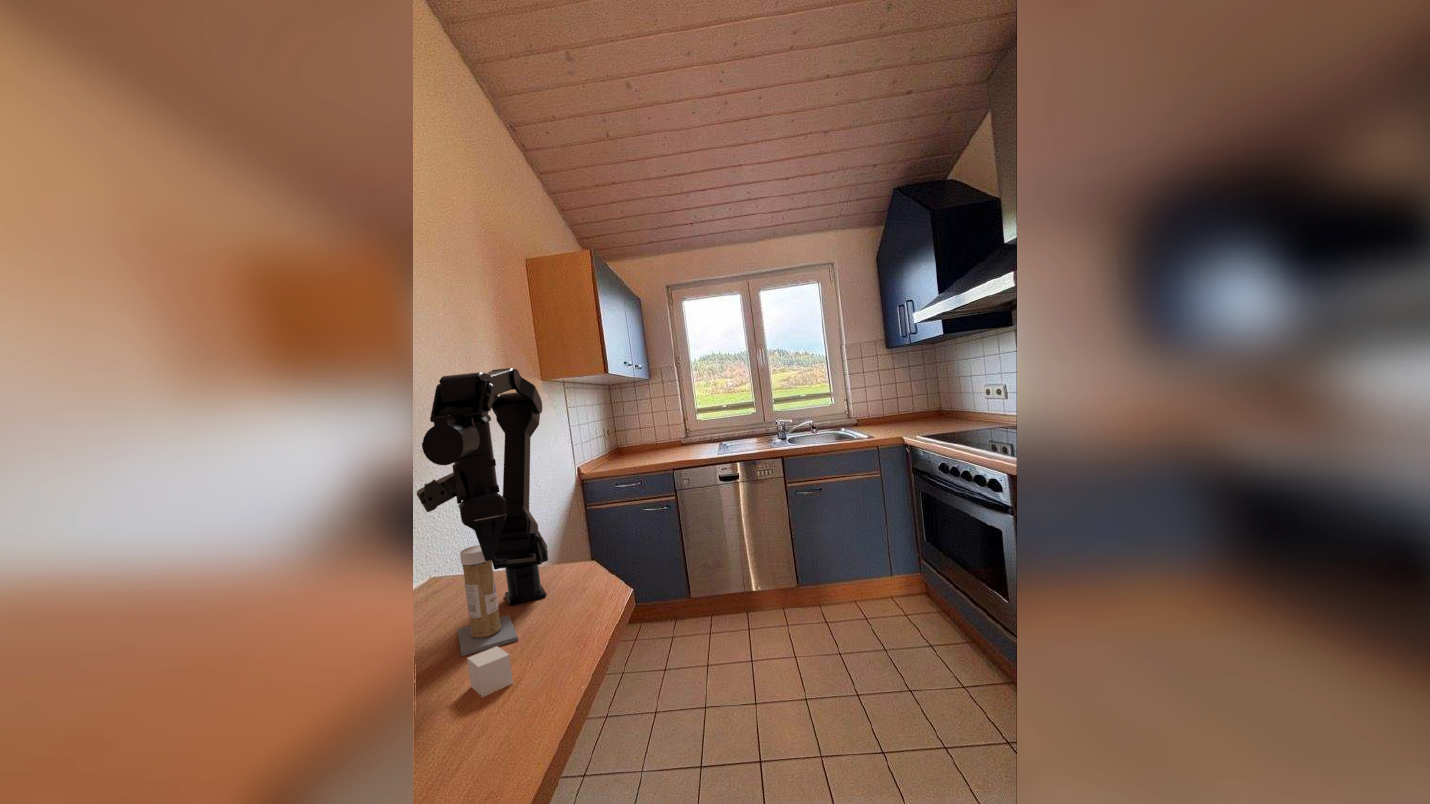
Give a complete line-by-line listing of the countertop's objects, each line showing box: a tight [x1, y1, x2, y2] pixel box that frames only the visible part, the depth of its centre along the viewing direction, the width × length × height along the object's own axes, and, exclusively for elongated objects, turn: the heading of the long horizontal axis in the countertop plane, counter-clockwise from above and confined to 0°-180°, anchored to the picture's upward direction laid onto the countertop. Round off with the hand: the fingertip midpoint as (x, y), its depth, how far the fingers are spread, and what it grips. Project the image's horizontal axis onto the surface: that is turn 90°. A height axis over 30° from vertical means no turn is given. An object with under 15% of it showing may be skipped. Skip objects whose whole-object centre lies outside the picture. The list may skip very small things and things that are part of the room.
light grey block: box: [466, 646, 514, 698], centre depth 79 cm, size 4×4×4 cm
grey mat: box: [456, 614, 519, 657], centre depth 95 cm, size 10×8×1 cm
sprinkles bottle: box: [459, 544, 501, 638], centre depth 95 cm, size 5×5×13 cm
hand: (486, 552), depth 95 cm, fingers open, 9 cm apart
